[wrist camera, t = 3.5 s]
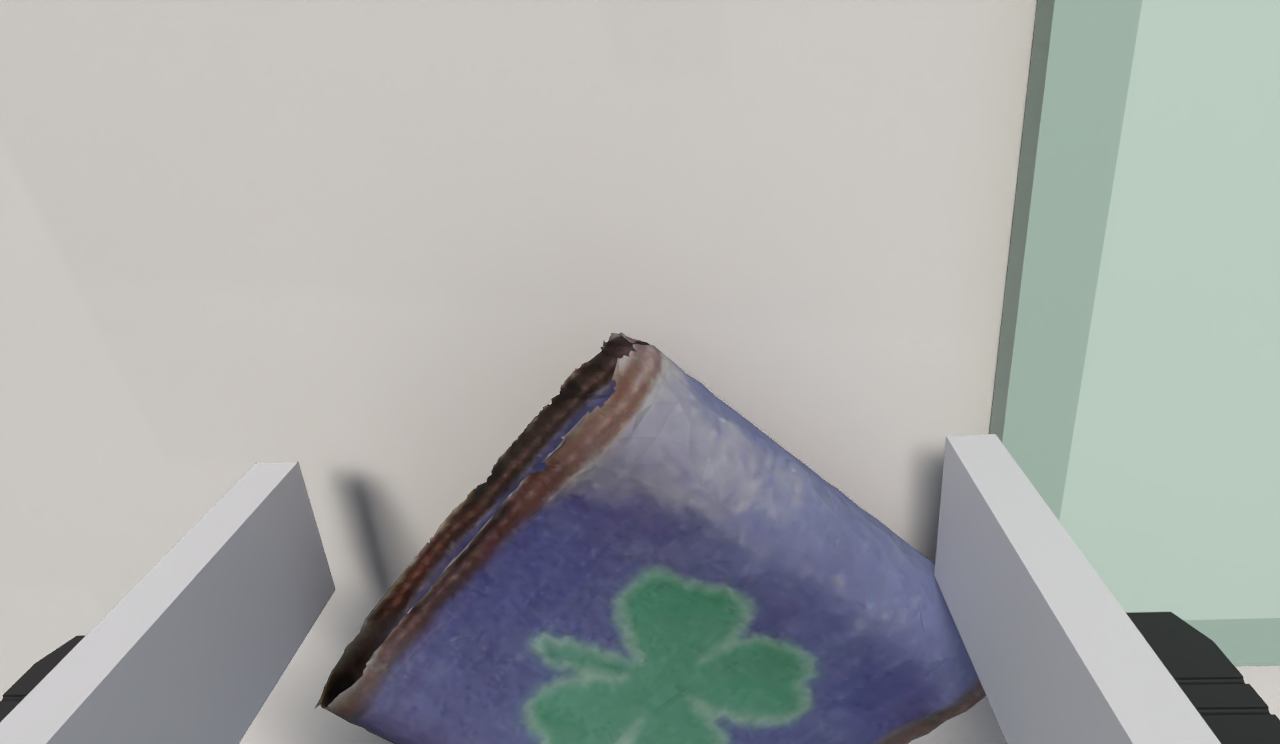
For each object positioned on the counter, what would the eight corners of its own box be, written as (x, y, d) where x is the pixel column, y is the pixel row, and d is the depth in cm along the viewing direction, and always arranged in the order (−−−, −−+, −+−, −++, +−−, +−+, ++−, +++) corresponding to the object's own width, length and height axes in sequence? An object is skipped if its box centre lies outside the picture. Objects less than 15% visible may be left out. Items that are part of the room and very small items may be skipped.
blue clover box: (629, 360, 11) (1106, 716, 14) (628, 296, 14) (1026, 604, 17) (294, 744, 14) (750, 976, 17) (348, 627, 16) (731, 844, 19)
